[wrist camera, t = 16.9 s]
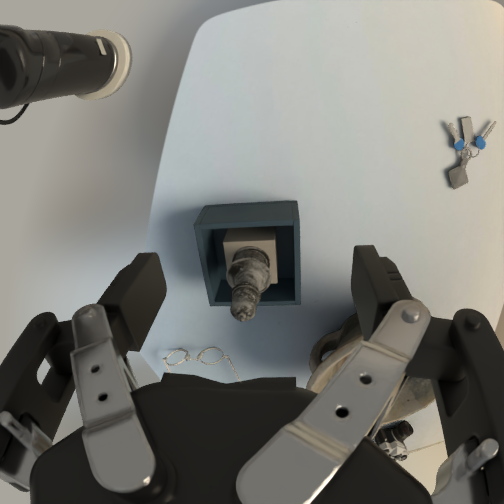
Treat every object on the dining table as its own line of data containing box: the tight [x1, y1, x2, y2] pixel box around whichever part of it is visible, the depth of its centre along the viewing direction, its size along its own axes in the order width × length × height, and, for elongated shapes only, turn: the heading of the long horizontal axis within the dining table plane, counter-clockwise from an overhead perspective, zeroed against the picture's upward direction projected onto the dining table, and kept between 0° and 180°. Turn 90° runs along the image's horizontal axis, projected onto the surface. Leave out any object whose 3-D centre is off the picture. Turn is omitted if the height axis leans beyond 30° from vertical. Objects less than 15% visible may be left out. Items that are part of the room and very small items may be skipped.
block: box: [223, 226, 278, 283], centre depth 46 cm, size 7×7×5 cm
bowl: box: [306, 297, 436, 425], centre depth 49 cm, size 27×26×15 cm
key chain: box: [448, 117, 496, 189], centre depth 36 cm, size 14×8×1 cm, turn 159°
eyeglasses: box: [163, 347, 240, 381], centre depth 64 cm, size 16×19×5 cm
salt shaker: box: [226, 246, 272, 322], centre depth 38 cm, size 6×6×12 cm
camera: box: [374, 421, 413, 461], centre depth 72 cm, size 15×11×10 cm
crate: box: [194, 201, 301, 306], centre depth 46 cm, size 14×14×7 cm
